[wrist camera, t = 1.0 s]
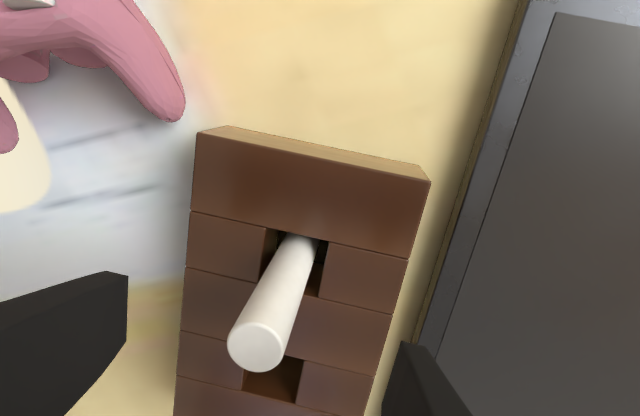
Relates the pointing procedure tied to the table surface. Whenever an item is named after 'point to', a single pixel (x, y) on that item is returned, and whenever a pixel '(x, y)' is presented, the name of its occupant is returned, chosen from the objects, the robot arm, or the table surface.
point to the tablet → (548, 225)
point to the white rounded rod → (273, 306)
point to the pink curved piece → (86, 51)
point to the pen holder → (323, 282)
